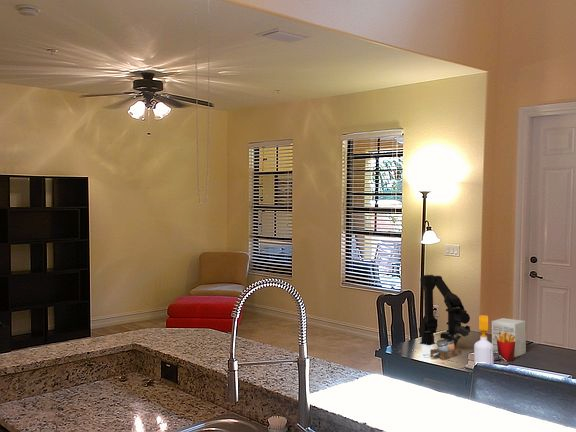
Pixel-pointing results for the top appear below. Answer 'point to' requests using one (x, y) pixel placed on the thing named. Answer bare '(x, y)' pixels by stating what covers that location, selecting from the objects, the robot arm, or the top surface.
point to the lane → (446, 354)
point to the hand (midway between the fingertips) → (453, 349)
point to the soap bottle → (483, 343)
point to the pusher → (437, 353)
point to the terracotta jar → (450, 344)
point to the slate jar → (443, 345)
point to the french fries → (506, 346)
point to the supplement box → (510, 327)
